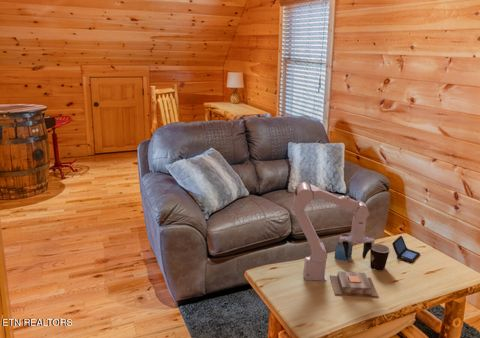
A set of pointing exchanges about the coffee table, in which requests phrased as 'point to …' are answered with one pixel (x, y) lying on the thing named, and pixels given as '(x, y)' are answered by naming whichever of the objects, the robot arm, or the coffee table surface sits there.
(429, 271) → the coffee table surface
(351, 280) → the button
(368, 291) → the button board
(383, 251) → the coffee mug
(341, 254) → the perfume bottle
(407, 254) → the handheld game console
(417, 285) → the coffee table surface
